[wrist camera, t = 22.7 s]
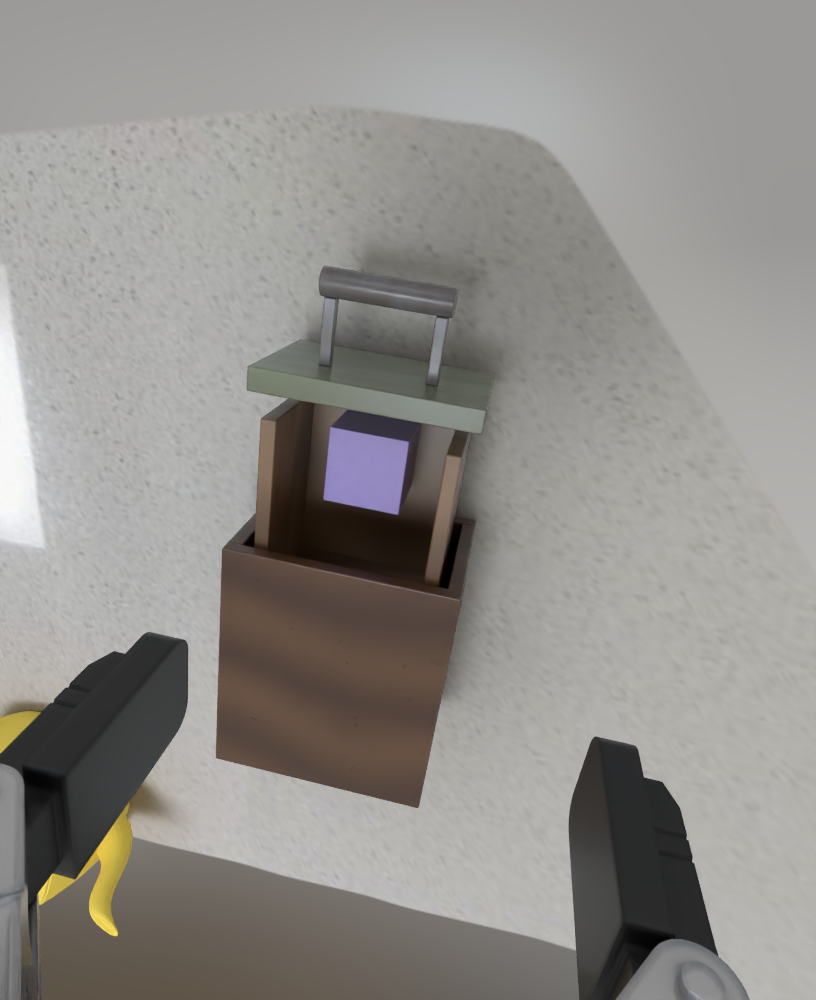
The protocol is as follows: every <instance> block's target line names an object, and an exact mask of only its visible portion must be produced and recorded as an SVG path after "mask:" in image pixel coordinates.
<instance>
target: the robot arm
mask: <svg viewBox="0 0 816 1000" xmlns="http://www.w3.org/2000/svg"><path fill="white" fill-rule="evenodd" d="M187 702H188V645H187V642H186V641H185V640H182V639H178V638H173V637H169V636H165V635H160V634H156V633H152V632H147V633H145V634H144V635H143V636H142V637H141V638H140V639H139V640H138V641H137V642H136V643H135V644H134V645H133V646H132V647H131V648H130V649H129V651H128V652H127V653H126V654H123V653H119V652H115V651H114V652H112V653H110V654H108V655H106V656H105V657H103V658H101V659H99V660H97V661H95V662H93V663H91V664H90V665H88V666H87V667H86V668H85V669H84V670H83V671H82V672H81V673H80V674H79V675H78V676H77V677H76V678H75V679H74V680H73V681H72V682H71V683H70V686H69V687H68V688H65V689H64V690H63V691H62V692H61V693H60V694H59V695H58V696H57V697H56V698H55V700H54V703H50V704H49V705H48V706H47V707H46V708H45V709H44V710H43V711H42V712H41V713H40V714H39V715H38V716H37V717H36V718H35V719H34V720H33V721H32V722H31V723H30V724H29V725H28V726H27V727H26V728H25V729H24V730H23V731H22V732H21V733H20V734H19V735H18V736H17V737H16V738H15V739H14V740H13V741H12V742H11V743H10V744H9V745H8V746H7V747H6V748H5V749H4V750H3V751H2V752H1V753H0V1000H41V970H40V968H41V966H40V921H39V896H38V893H39V891H40V890H41V889H42V887H43V886H44V884H45V883H46V882H47V880H48V879H49V878H50V876H51V875H52V874H57V875H60V876H64V877H68V878H71V879H75V880H76V878H77V877H78V875H79V874H80V872H81V871H82V869H83V868H84V867H85V865H86V864H87V862H88V861H89V859H90V858H91V856H92V855H93V854H94V852H95V851H96V849H97V848H98V846H99V845H100V843H101V842H102V840H103V839H104V838H105V836H106V835H107V833H108V832H109V830H110V829H111V827H112V826H113V825H114V823H115V822H116V820H117V819H118V817H119V816H120V814H121V813H122V812H123V810H124V809H125V807H126V806H127V804H128V803H129V801H130V800H131V798H132V797H133V796H134V794H135V793H136V791H137V790H138V788H139V787H140V785H141V784H142V783H143V781H144V780H145V778H146V777H147V775H148V774H149V772H150V771H151V769H152V768H153V767H154V765H155V764H156V762H157V761H158V759H159V758H160V756H161V755H162V754H163V752H164V751H165V749H166V748H167V746H168V745H169V743H170V742H171V741H172V739H173V738H174V736H175V735H176V733H177V732H178V730H179V728H180V726H181V724H182V721H183V719H184V716H185V712H186V708H187ZM686 836H687V834H686V830H685V826H684V822H683V818H682V814H681V810H680V807H679V806H678V804H677V803H676V801H675V800H674V799H673V797H672V796H671V794H670V793H669V791H668V790H667V788H666V787H665V785H664V784H663V782H660V781H656V780H652V779H648V778H644V776H643V772H642V767H641V762H640V757H639V752H638V749H637V747H636V746H634V745H630V744H626V743H622V742H617V741H613V740H609V739H604V738H600V737H594V738H593V739H592V741H591V743H590V746H589V749H588V752H587V755H586V758H585V761H584V764H583V767H582V770H581V773H580V776H579V779H578V781H577V784H576V787H575V790H574V793H573V797H572V801H571V806H570V814H569V843H570V858H571V874H572V890H573V905H574V921H575V937H576V952H577V967H578V983H579V998H580V1000H749V997H748V995H747V992H746V990H745V988H744V987H743V985H742V983H741V981H740V980H739V979H738V977H737V976H736V974H735V973H734V972H733V971H732V970H731V968H730V967H729V966H728V965H727V964H726V963H725V962H724V961H723V960H722V959H721V958H719V956H718V953H717V950H716V947H715V943H714V939H713V935H712V931H711V927H710V924H709V920H708V916H707V912H706V908H705V904H704V900H703V896H702V892H701V888H700V884H699V881H698V877H697V873H696V869H695V865H694V863H692V858H693V857H692V853H691V849H690V845H689V841H688V840H686Z"/></svg>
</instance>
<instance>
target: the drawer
mask: <svg viewBox="0 0 816 1000" xmlns="http://www.w3.org/2000/svg"><path fill="white" fill-rule="evenodd" d="M319 292H320V295H321V296H325V298H324V306H323V317H322V329H321V340H320V343H318V342H312V341H307V340H301V339H300V340H298V341H296V342H294V343H292V344H290V345H288V346H286V347H284V348H283V349H281V350H279V351H277V352H275V353H273V354H271V355H269V356H267V357H265V358H263V359H261V360H259V361H257V362H255V363H253V364H251V365H249V366H248V372H247V390H248V391H253V392H258V393H263V394H269V395H274V396H279V397H284V398H289V399H287V400H286V401H285V402H283V403H282V404H280V405H279V406H278V407H276V408H275V409H274V410H272V411H271V412H270V413H268V414H267V415H265V416H264V417H263V418H261V427H260V446H259V465H258V484H257V502H256V521H255V540H254V548H258V549H262V550H267V551H272V552H276V553H281V554H286V555H290V556H295V557H300V558H304V559H309V560H314V561H318V562H323V563H328V564H332V565H337V566H342V567H346V568H351V569H356V570H360V571H365V572H370V573H375V574H379V575H384V576H389V577H393V578H398V579H403V580H407V581H412V582H417V583H421V584H426V585H431V586H435V587H440V588H441V587H442V582H443V578H444V573H445V567H446V562H447V557H448V552H449V547H450V541H451V536H452V531H453V526H454V520H455V515H456V510H457V505H458V499H459V494H460V489H461V484H462V479H463V473H464V468H465V463H466V458H467V452H468V447H469V442H470V437H471V433H474V434H479V435H482V434H483V430H484V425H485V421H486V416H487V412H488V407H489V403H490V398H491V394H492V389H493V384H494V379H495V375H494V374H490V373H484V372H478V371H473V370H467V369H462V368H456V367H451V366H445V365H442V360H443V354H444V348H445V342H446V336H447V330H448V324H449V318H453V317H454V314H455V310H456V305H457V299H458V288H455V287H449V286H443V285H437V284H431V283H425V282H419V281H413V280H407V279H401V278H395V277H389V276H383V275H377V274H371V273H365V272H359V271H354V270H348V269H342V268H336V267H330V266H324V267H323V268H322V270H321V274H320V278H319ZM339 299H342V300H348V301H354V302H359V303H365V304H371V305H377V306H382V307H388V308H394V309H400V310H405V311H411V312H417V313H423V314H429V315H434V316H437V317H436V320H435V327H434V333H433V340H432V346H431V352H430V359H429V362H423V361H417V360H412V359H406V358H401V357H395V356H390V355H384V354H379V353H373V352H368V351H362V350H356V349H351V348H345V347H340V346H334V343H335V333H336V323H337V312H338V302H339ZM347 409H348V410H353V411H358V412H363V413H369V414H374V415H379V416H384V417H390V418H395V419H400V420H406V421H411V422H416V423H421V426H420V433H419V439H418V445H417V452H416V458H415V465H414V471H413V478H412V484H411V488H410V490H409V492H408V495H407V497H406V499H405V501H404V503H403V506H402V508H401V510H400V512H399V514H398V515H396V514H391V513H386V512H381V511H376V510H371V509H366V508H361V507H357V506H352V505H347V504H342V503H337V502H332V501H327V500H324V499H323V498H324V488H325V477H326V467H327V456H328V446H329V435H330V427H331V426H332V425H333V424H334V423H335V422H336V421H337V420H338V419H339V418H340V417H341V416H342V415H343V414H344V413H345V412H346V411H347Z"/></svg>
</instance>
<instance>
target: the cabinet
mask: <svg viewBox="0 0 816 1000" xmlns="http://www.w3.org/2000/svg"><path fill="white" fill-rule="evenodd" d="M255 521H256V513H255V514H254V515H253V517H252V518H251V519H250V520H249V521H248V522H247V523H246V524H245V525H244V526H243V527H242V528H241V529H240V530H239V531H238V532H237V534H236V535H235V536H234V537H233V538H232V539H231V540H230V541H229V543H227V544H226V545H225V546H224V547H223V549H222V574H221V607H220V639H219V671H218V703H217V736H216V758H218V759H222V760H226V761H230V762H234V763H238V764H242V765H246V766H250V767H254V768H258V769H262V770H266V771H270V772H274V773H278V774H282V775H286V776H290V777H295V778H299V779H303V780H307V781H311V782H315V783H319V784H323V785H327V786H331V787H335V788H339V789H343V790H347V791H351V792H355V793H359V794H363V795H367V796H371V797H375V798H379V799H383V800H387V801H391V802H395V803H399V804H404V805H408V806H412V807H416V808H418V807H419V803H420V799H421V794H422V789H423V784H424V779H425V775H426V770H427V765H428V760H429V755H430V750H431V746H432V741H433V736H434V731H435V726H436V722H437V717H438V712H439V707H440V702H441V698H442V693H443V688H444V683H445V678H446V673H447V669H448V664H449V659H450V654H451V649H452V645H453V640H454V635H455V630H456V625H457V620H458V616H459V611H460V606H461V601H462V596H463V590H464V585H465V579H466V574H467V568H468V562H469V557H470V551H471V546H472V540H473V535H474V529H475V523H476V521H474V520H469V519H464V518H459V517H455V520H454V526H453V531H452V536H451V541H450V547H449V552H448V557H447V562H446V567H445V573H444V578H443V582H442V587H441V588H440V587H435V586H431V585H426V584H421V583H417V582H412V581H407V580H403V579H398V578H393V577H389V576H384V575H379V574H375V573H370V572H365V571H360V570H356V569H351V568H346V567H342V566H337V565H332V564H328V563H323V562H318V561H314V560H309V559H304V558H300V557H295V556H290V555H286V554H281V553H276V552H272V551H267V550H262V549H258V548H254V540H255Z"/></svg>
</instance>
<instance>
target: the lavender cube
mask: <svg viewBox="0 0 816 1000" xmlns="http://www.w3.org/2000/svg"><path fill="white" fill-rule="evenodd" d="M420 426H421V423H416V422H411V421H406V420H400V419H395V418H390V417H384V416H379V415H374V414H369V413H363V412H358V411H353V410H348V409H347V411H346V412H345V413H344V414H343V415H342V416H341V417H340V418H339V419H338V420H337V421H336V422H335V423H334V424H333V425H332V426H331V427H330V435H329V446H328V456H327V467H326V477H325V488H324V498H323V499H324V500H327V501H332V502H337V503H342V504H347V505H352V506H357V507H361V508H366V509H371V510H376V511H381V512H386V513H391V514H396V515H398V514H399V512H400V510H401V508H402V506H403V503H404V501H405V499H406V497H407V495H408V492H409V490H410V488H411V484H412V478H413V471H414V465H415V458H416V452H417V445H418V439H419V433H420Z"/></svg>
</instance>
